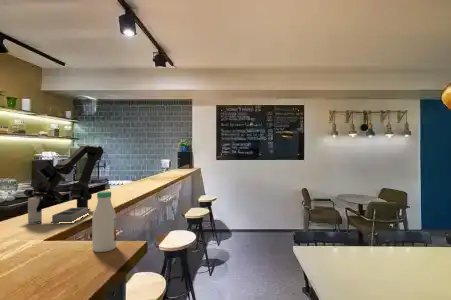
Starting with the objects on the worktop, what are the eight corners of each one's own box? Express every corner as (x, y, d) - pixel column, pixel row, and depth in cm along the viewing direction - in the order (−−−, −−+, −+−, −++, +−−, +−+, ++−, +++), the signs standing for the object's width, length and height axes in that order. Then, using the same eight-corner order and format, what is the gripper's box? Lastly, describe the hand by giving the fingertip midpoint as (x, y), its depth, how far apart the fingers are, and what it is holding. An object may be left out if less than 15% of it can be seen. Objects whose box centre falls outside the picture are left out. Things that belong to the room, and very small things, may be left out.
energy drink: (44, 221, 137) (44, 197, 137) (35, 224, 132) (35, 199, 132) (34, 221, 138) (33, 196, 138) (25, 224, 133) (25, 198, 132)
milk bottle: (110, 252, 96) (110, 193, 96) (88, 252, 96) (87, 193, 96) (119, 245, 104) (119, 190, 104) (98, 245, 104) (98, 190, 104)
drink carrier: (70, 215, 151) (70, 207, 151) (89, 214, 151) (89, 207, 151) (50, 224, 133) (50, 215, 133) (72, 223, 133) (72, 215, 133)
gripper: (26, 172, 141) (4, 199, 130) (57, 173, 136) (37, 200, 126) (40, 186, 149) (21, 212, 138) (70, 187, 144) (52, 214, 133)
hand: (32, 209), depth 134 cm, fingers closed on energy drink, 5 cm apart
